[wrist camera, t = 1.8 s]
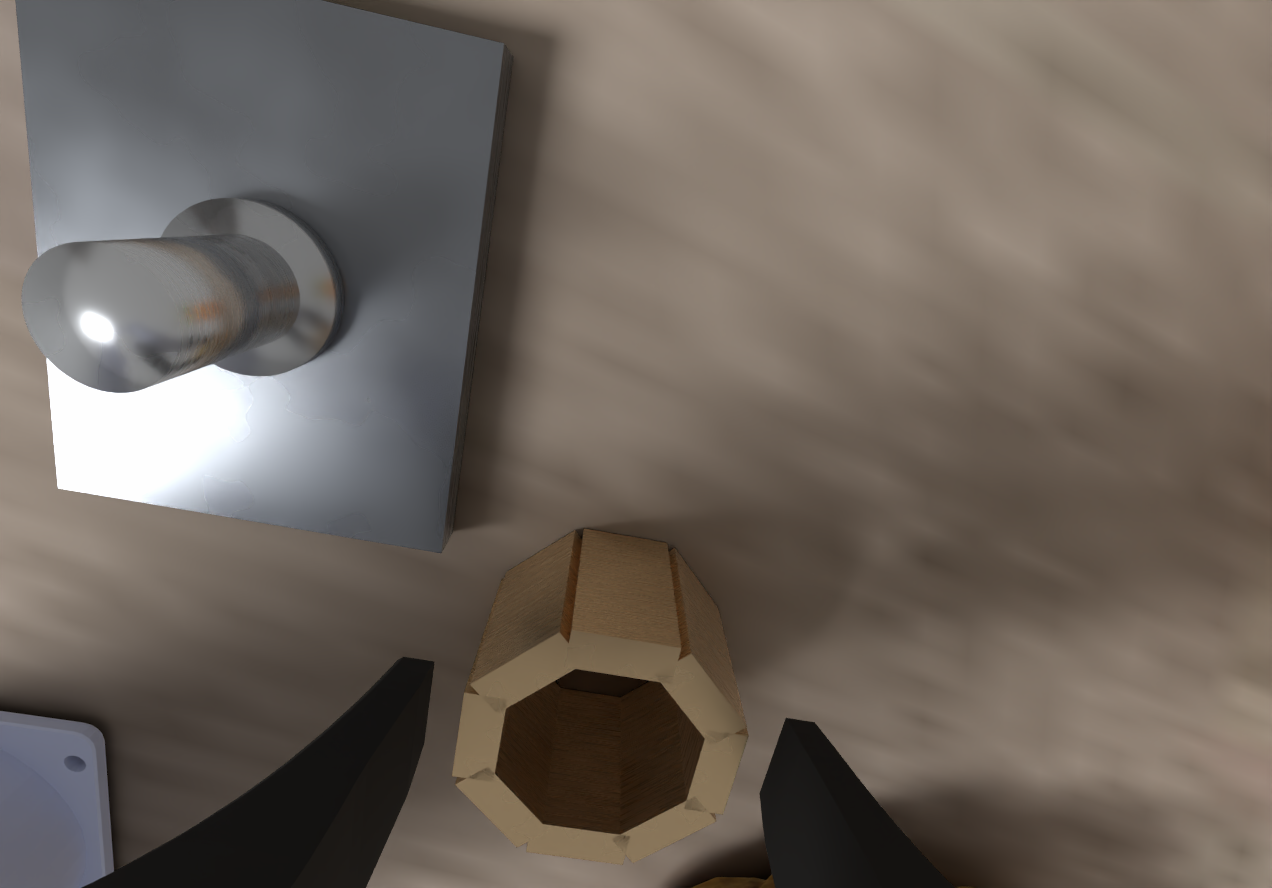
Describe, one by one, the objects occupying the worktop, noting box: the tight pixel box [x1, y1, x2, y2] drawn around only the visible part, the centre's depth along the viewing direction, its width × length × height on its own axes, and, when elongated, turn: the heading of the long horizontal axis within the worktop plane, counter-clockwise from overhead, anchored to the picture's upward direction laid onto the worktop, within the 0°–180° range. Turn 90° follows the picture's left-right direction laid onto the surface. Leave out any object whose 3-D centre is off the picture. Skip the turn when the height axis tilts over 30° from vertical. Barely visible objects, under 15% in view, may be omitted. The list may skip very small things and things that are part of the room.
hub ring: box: [452, 528, 748, 865], centre depth 15 cm, size 5×5×4 cm
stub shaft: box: [15, 0, 513, 553], centre depth 11 cm, size 10×8×5 cm
